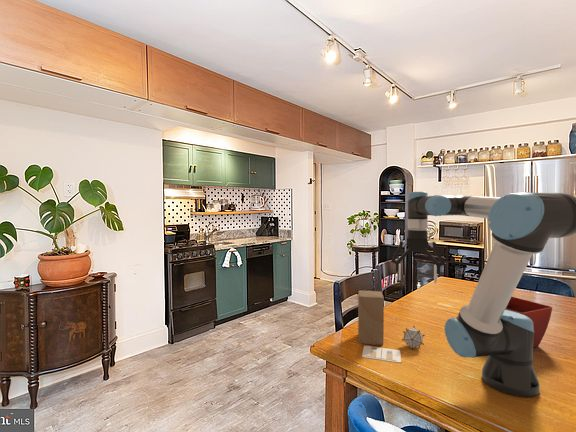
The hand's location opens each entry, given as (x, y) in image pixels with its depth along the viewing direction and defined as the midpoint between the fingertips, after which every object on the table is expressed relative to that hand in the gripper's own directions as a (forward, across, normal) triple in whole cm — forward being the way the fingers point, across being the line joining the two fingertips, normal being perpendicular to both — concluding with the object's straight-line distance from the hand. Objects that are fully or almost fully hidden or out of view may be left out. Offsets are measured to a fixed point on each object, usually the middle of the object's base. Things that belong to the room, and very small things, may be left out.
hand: (417, 281), depth 128 cm
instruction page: (+27, +13, +13) cm, 32 cm away
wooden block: (+27, +18, +1) cm, 33 cm away
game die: (+27, +2, +3) cm, 27 cm away
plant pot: (+27, -38, -16) cm, 49 cm away
